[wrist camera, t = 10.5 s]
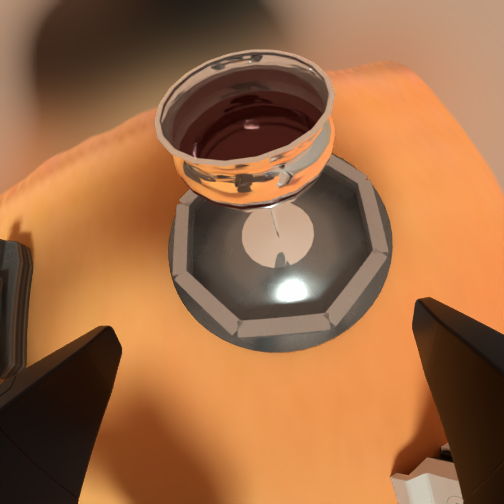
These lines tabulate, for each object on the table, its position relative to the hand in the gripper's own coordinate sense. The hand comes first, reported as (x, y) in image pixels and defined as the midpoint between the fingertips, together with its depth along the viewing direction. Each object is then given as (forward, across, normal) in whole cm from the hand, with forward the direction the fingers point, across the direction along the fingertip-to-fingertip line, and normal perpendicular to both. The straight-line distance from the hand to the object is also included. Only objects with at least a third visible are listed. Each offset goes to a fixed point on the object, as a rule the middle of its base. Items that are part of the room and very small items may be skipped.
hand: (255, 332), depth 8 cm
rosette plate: (+14, 0, +2) cm, 14 cm away
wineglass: (+13, 0, +2) cm, 13 cm away
